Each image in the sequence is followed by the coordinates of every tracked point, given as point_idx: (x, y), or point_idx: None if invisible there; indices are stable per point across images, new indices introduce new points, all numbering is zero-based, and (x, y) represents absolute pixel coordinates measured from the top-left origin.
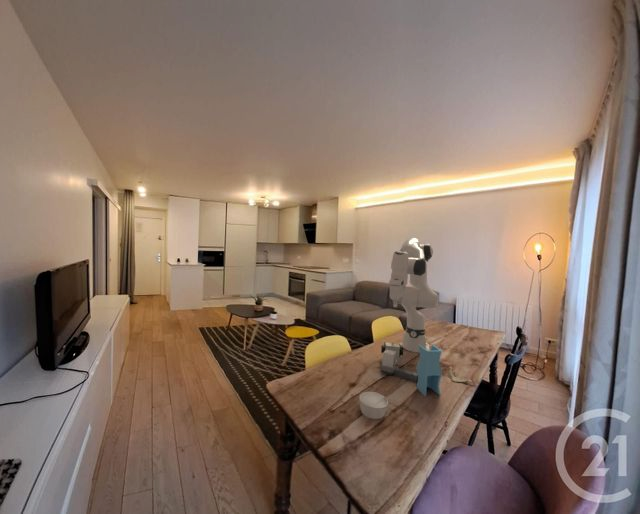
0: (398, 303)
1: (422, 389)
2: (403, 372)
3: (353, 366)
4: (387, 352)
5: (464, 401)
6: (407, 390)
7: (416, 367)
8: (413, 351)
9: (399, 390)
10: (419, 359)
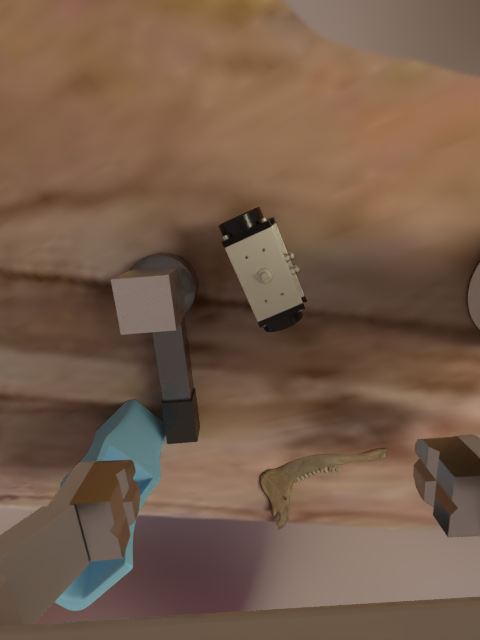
0: (422, 450)
1: (102, 429)
2: (155, 354)
3: (99, 130)
4: (129, 297)
5: (152, 515)
6: (85, 384)
7: (107, 436)
8: (468, 300)
9: (63, 364)
10: None
